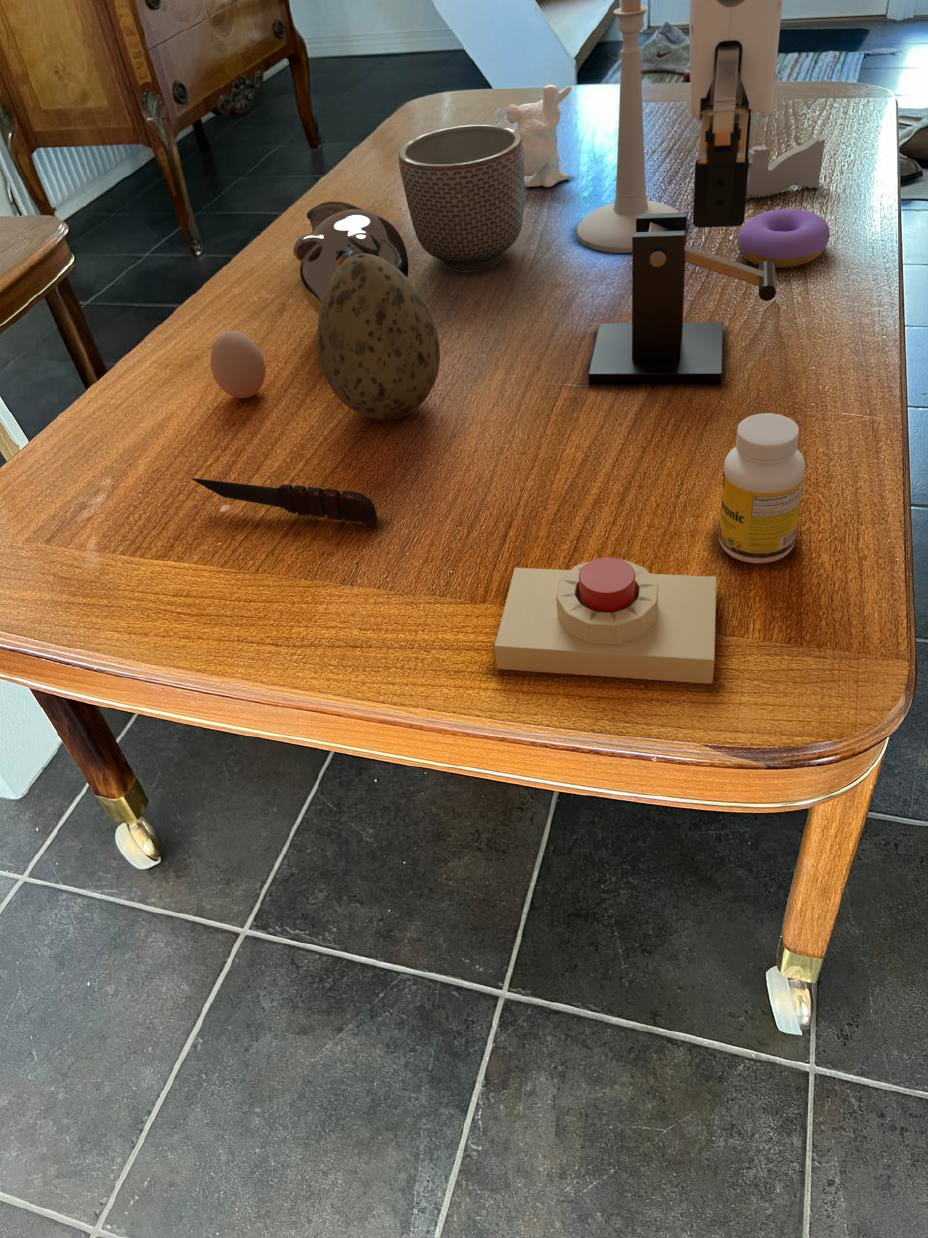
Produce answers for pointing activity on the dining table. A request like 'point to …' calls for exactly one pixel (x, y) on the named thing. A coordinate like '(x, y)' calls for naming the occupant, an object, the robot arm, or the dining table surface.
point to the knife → (301, 500)
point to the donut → (783, 237)
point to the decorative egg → (377, 339)
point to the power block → (610, 627)
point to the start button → (607, 584)
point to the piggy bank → (345, 248)
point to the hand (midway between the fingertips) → (721, 196)
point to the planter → (465, 192)
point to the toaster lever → (731, 267)
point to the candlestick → (625, 150)
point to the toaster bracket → (658, 319)
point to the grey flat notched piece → (784, 168)
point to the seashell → (327, 211)
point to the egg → (237, 364)
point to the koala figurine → (540, 136)
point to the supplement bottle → (762, 490)
